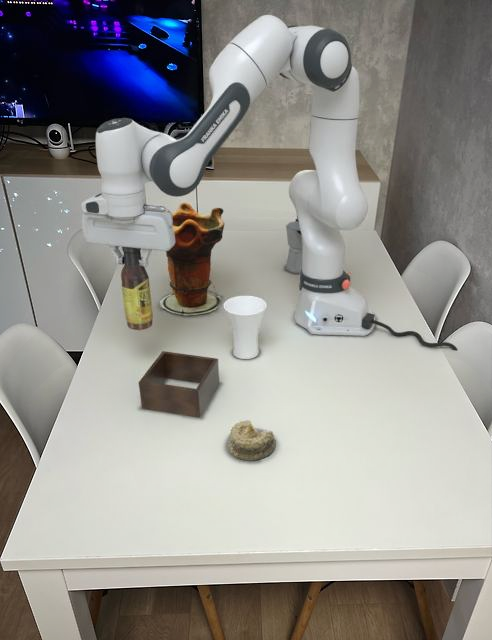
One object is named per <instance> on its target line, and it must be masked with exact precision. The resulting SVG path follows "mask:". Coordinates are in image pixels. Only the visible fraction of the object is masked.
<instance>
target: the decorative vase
mask: <svg viewBox="0 0 492 640" xmlns="http://www.w3.org/2000/svg"><path fill="white" fill-rule="evenodd" d="M223 214H224V209H223V208H222V207H214V208H212V209H211V211H210V213H205V214H202V213H198V212H197V211H196V209H194V208H193V206H192V205H191V204H190V203H189V202H185V201H182V202H180V204H179V205H178V207H177V209H176V210H175V211H174V212H173V213H172V217H173V224H172V225H173V229H174V234H175V244H174V246H173V247H172V248H171V249H170V250H169V251H165V255H166V258H167V271H168V275H169V279H170V282H169V286H170V288H171V290H172V293H170V294H168V295H166V296H163V297H162V299H160V301H159V304H160V305H159V307H161V308H162V309H164V310H166V311H167V312H170V313H172V314H177V315H183V316H184V317H186V316H191V315H193V316H196V315H197V316H198V315H203V314H208V313H211V312H213V311H216V310H217V309H218V304H220V303H221V300H222V298H221V296H220V295H216V293H212V292H210V291H208V290H209V287H210V286H211V284H213V281H212V280H211V279H210V277H211V272H212V271H211V269H212V267H211V265H212V258H211V257H212V250H213V249H214V247H215V246H216V245H217V244H218V243H220V242H221V241H222V240H223V234H224V229H225V222H224V221H223V219H222V215H223ZM213 288H214V290H215V292H217V290H216V289H215V286H213Z"/></svg>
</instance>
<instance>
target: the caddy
mask: <svg viewBox="0 0 492 640" xmlns="http://www.w3.org/2000/svg"><path fill="white" fill-rule="evenodd" d="M219 368H220V367H219V358H215V357H208V356H201V355H196V354H195V355H193V354H186V353H179V352H173V351H165V350H162V351H161V352H160V353H159V355H157V358H156V359H155V360H154V362H152V364H151V366H150V367H149V368H148V369H147V370H146V372H145V373H144V374H143V376H142V377H141V378H140V380H139V381H138V389H139V397H140V403H141V409H142V410H149V411H155V412H161V413H168V414H173V415H180V416H187V417H193V418H202V415H203V414H204V412H205V410H206V408H207V407H208V405H209V403H210V401H211V399H212V398H213V397H214V394H215V392H216V391H217V389H218V387H219V386H220V374H219V373H220V371H219V370H220V369H219ZM167 379H168V380H169V379H170V380H176V381H184V382H191V383H198V385H197V386H196V388H194V387H185V386H180V385H173V384H166V383H165V382H166V380H167Z"/></svg>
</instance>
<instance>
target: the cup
mask: <svg viewBox="0 0 492 640" xmlns="http://www.w3.org/2000/svg"><path fill="white" fill-rule="evenodd" d="M267 306H268V305H267V302H266V301H265V300H264V299H263V298H261V297H259V296H258V297H257V296H253V295H237V296H232V297H230V298H228V299H227V300H225V302H224V303H223V309H224V311H225V314H226V317H227V319H228V323H229V325H230V329H231V333H232V340H233V347H232V354H233V356H234V357H236V358H238V359H240V360H250V359H254V358H256V357H257V356H258V355H259V354H260V353H259V333H260V328H261V324H262V321H263V318H264V315H265V313H266V309H267Z"/></svg>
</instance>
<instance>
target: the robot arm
mask: <svg viewBox="0 0 492 640" xmlns="http://www.w3.org/2000/svg"><path fill="white" fill-rule="evenodd" d="M352 63H353V62H352V51H351V47H350V45H349V42H348V40H347V39H346V37H344V35H342V34H341V33H340V32H339V31H336V30H334V29H331V28H325V27H322V26H318V25H300V26H299V25H287V24H286V23H285V22H284V21H283V20H281V18H279V17H277V16H275V15H272V14H265V15H264V14H263V15H261V16H259V17H258V18H256V19H255V20H254V21H252V22H251V23H249V24H248V25H247V26H246V27H245V28H244V29H242V30H241V31H240V32H239V33H238V34H237V35H235V37H233V38H232V39H231V41H229V42H228V44H227V45H226V46H225V47H224V48H223V49H222V50H221V52H219V54H218V55H217V56H216V58H215V60H214V61H213V62H212V64H211V66H210V67H209V72H208V82H209V87H210V90H211V92H212V98H211V102H210V104H209V106H208V107H207V109H206V110H205V112H204V113H203V114H202V115H201V116H200V118H199V119H198V120H197V121H196V122H195V124H194V125H193V126H192V127H191V129H190V130H189V131H188V133H187V134H186V135H184V136H183V137H182V138H179V139H176V138H174V137H172V136H170V135H169V134H167V133H165V132H160V131H155V130H152V129H149V128H147V127H144V126H142V125H140V124H139V123H137V122H136V121H134V120H133V119H132V118H128V117H122V118H113V119H110V120H107V121H105V122H103V123H102V124H100V125H99V127H98V128H97V129H96V132H95V154H96V164H97V169H98V172H99V174H100V178H101V186H100V190H101V192H99V193H96V194H93V195H92V196H90V197H88V198H87V199H85V200H84V201H83V202H82V203H81V204H80V205H81V206H80V207H81V210H82V212H83V213H82V216H81V227H82V235H83V239H84V241H85V242H87V244H91V245H92V244H93V245H100V246H101V245H102V246H109V251H110V252H111V253H112V255H113V257H114V258H115V259H116V260H115V261H116V265H121V266H124V265H125V263H124V254H123V253H122V252H121V249H119V248H120V247H121V248H122V247H131V248H140V249H141V252H142V253H143V254H144V255H143V256H141V258H140V259H139V263H140V264H139V266H140V267H144V268H148V267H149V265H150V261H149V258H150V255H151V253H152V251H162V252H166V251H169V250H170V249H171V248H172V247H173V246H174V244H175V234H174V229H173V225H172V224H173V217H172V214H173V213H172V212H171V211H170V210H169V209H168V208H166V206H164V205H158V206H157V205H153V204H147V197H146V186H145V185H146V184H147V183H150V182H153V183H154V185H156V187H157V188H158V189H159V190H160V191H161V192H162V193H163V194H165V195H167V196H170V197H175V198H177V197H184V196H187V195H189V194H190V193H192V192H193V191H195V190H196V188H198V186H199V185H200V183H201V181H202V179H203V177H204V174H205V171H206V169H207V167H208V165H209V163H210V162H211V160H212V158H213V157H214V156H215V155H216V154H217V152H218V151H219V150H220V148H221V147H222V145H223V144H224V143H225V142H226V141H227V139H228V138H229V137H230V136H231V134H232V133H233V132H234V130H235V129H236V128H237V127H238V125H239V124H240V123H241V121H242V120H243V118H244V117H245V115H246V114H247V112H248V110H249V108H250V107H251V105H252V104H253V102H254V101H255V100H256V99H257V98H258V96H259V95H260V94H262V92H263V91H264V90H265V89H266V88H267V87H268V86H269V85H270V83H271V82H272V81H273V80H274V79H275V77H277V76H278V75H279V76H281V77H282V78H284V79H287V80H291V81H294V82H295V83H299V84H303V85H309V86H310V89H311V93H312V102H311V110H310V121H309V122H310V124H309V136H308V151H309V154H310V156H311V158H312V160H313V164H314V167H315V169H304V170H300V171H298V172H297V173H296V174H295V175H294V176H293V177H292V179H291V180H290V183H289V186H288V196H289V199H290V201H291V203H292V205H293V207H294V209H295V212H296V218H297V217H298V221H299V226H300V231H301V236H302V269H301V271H300V274H299V279H298V280H299V281H298V287H299V298H298V303H297V306H296V310H295V312H294V316H293V320H294V322H295V323H296V324H298V325H299V326H300V327H302V328H304V329H306V330H307V331H308V333H310V334H311V335H320V336H321V335H323V336H326V335H328V336H355V337H356V336H359V337H360V336H362V337H364V336H367V335H369V334H371V333H372V332H373V331H374V328H375V326H376V325H377V326H379V327H382V328H384V329H385V330H387V331H388V332H389V333H390V334H391V335H393V336H395V337H405V336H408V335H410V336H414V337H416V338H417V340H418V341H419V343H420V344H421V345H423V346H425V347H430V348H436V347H437V348H438V347H449V348H451V349H452V350H453V351H456V352H457V351H458V350H459V349H458V348H457V346H455V345H454V344H453V343H451V342H447V341H441V342H440V341H439V342H428V341H425V340H424V338H423V337H422V336H421V334H420V333H419V332H417V331H414V330H406V331H402V332H397V331H395V330H394V329H393V328H392V327H391V326H389V325H388V324H386V323H383V322H382V321H378V320H376V316H375V314H376V313H375V314H374V312H373V311H371V310H370V309H369V306H368V301H367V298H366V297H365V296H364V295H363V294H362V293H360V292H359V291H358V290H357V289H355V288H354V287H353V286H352V285H351V272H350V271H348V273H347V272H346V271H345V270H344V265H345V255H346V244H345V240H344V238H343V236H342V234H341V230H342V231H346V232H347V231H352V230H356V229H357V228H359V226H361V225H362V223H363V222H364V221H365V219H366V218H367V214H368V211H369V210H368V209H369V201H368V199H367V196H366V195H365V193H364V191H363V189H362V187H361V182H360V178H359V175H358V166H357V159H356V146H357V134H358V124H359V117H360V116H359V115H360V101H361V100H360V93H361V91H360V90H361V89H360V88H361V87H360V77H359V72H358V70H357V69H356V67H354V66H353V64H352ZM142 253H141V254H142Z"/></svg>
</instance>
